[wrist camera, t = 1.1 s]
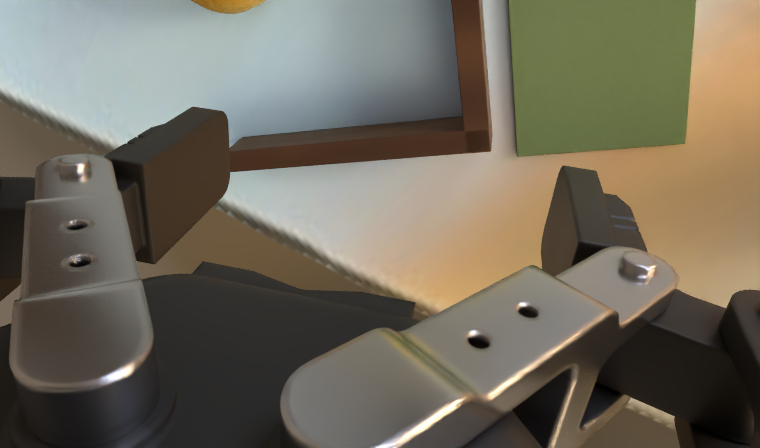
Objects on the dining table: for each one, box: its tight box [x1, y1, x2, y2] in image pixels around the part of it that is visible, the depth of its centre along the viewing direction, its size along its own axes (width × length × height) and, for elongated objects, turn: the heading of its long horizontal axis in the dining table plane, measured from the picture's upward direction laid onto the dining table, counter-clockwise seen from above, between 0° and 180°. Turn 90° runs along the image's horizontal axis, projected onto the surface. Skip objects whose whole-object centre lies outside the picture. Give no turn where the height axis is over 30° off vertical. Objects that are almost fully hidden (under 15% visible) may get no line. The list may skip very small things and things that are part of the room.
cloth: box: [508, 0, 696, 157], centre depth 34 cm, size 16×10×1 cm, turn 9°
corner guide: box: [229, 0, 492, 172], centre depth 35 cm, size 18×18×3 cm
